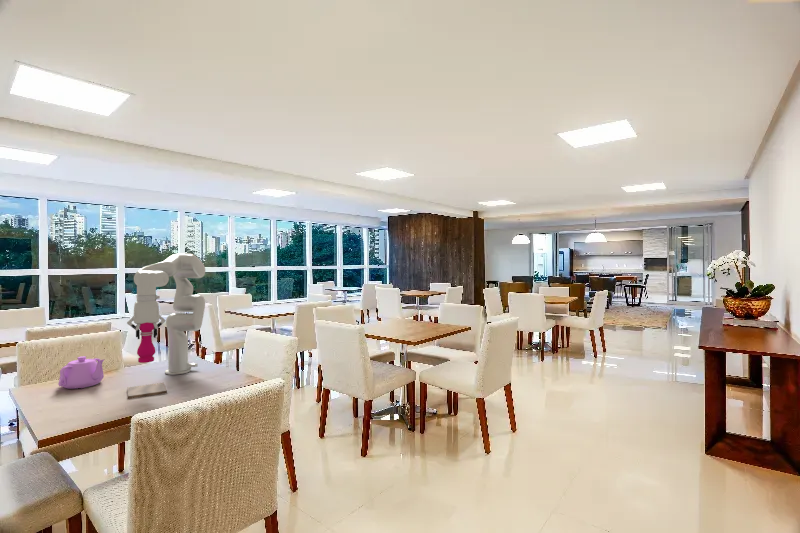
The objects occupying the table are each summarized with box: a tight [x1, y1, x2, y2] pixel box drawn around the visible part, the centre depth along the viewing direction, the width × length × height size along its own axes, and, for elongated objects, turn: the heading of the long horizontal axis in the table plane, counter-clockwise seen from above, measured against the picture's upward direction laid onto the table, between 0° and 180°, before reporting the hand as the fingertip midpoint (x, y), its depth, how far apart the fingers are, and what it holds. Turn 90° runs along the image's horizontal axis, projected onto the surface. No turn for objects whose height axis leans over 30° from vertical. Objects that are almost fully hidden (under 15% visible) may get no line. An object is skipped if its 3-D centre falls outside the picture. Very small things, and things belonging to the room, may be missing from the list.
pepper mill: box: [136, 322, 156, 364], centre depth 195 cm, size 7×7×20 cm
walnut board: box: [127, 382, 168, 400], centre depth 196 cm, size 15×15×1 cm
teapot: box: [57, 355, 105, 390], centre depth 205 cm, size 22×22×14 cm
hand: (146, 337), depth 196 cm, fingers closed on pepper mill, 5 cm apart
